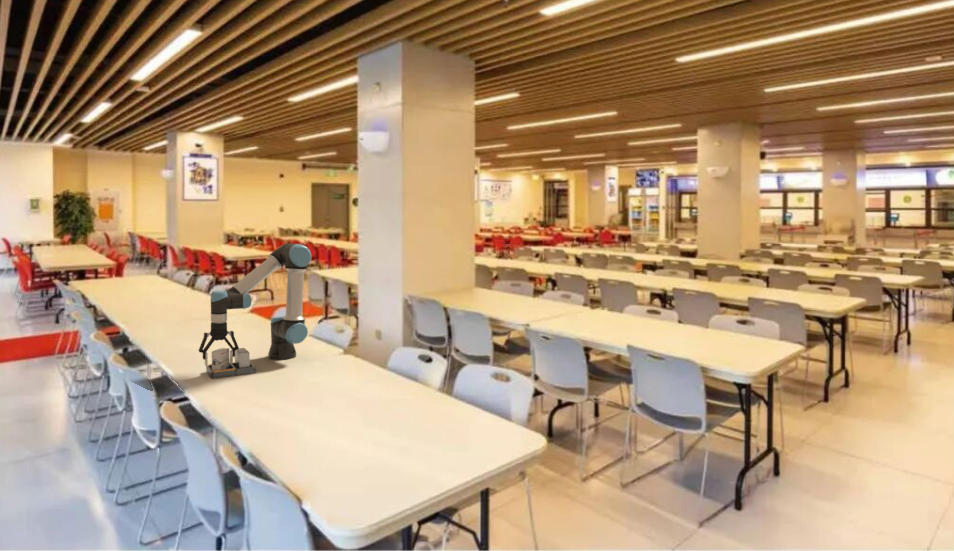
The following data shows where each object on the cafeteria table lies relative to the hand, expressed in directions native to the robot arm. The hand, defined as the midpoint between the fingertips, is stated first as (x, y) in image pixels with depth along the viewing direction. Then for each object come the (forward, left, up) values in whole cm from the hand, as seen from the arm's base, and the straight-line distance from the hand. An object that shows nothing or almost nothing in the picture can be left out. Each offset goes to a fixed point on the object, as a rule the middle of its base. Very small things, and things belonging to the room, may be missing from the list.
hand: (219, 364), depth 304 cm
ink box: (-1, 0, -4) cm, 4 cm away
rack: (-6, 0, -5) cm, 8 cm away
